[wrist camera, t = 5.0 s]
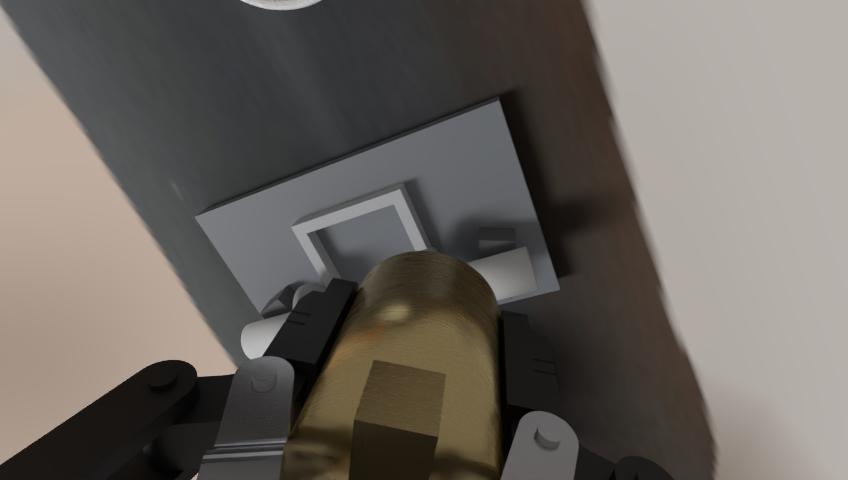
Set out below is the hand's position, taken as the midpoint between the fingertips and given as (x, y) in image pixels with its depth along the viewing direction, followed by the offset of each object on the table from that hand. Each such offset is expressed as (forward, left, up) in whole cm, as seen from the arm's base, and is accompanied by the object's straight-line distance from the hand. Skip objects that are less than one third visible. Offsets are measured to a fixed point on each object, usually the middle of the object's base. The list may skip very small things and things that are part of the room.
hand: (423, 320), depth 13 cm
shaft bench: (+1, +7, -14) cm, 16 cm away
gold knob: (0, 0, 0) cm, 0 cm away
